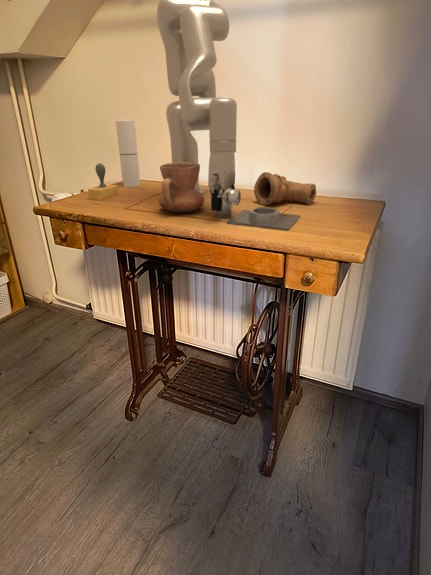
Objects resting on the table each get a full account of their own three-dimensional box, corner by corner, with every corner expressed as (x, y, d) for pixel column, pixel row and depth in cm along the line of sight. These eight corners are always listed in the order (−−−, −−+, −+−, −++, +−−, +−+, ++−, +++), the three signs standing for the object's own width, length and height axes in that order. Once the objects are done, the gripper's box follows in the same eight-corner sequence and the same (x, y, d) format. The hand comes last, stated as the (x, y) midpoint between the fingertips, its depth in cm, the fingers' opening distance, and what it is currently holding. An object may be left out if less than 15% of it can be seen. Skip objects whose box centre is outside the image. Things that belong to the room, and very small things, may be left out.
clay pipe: (264, 207, 142) (245, 202, 129) (268, 177, 140) (250, 169, 128) (314, 212, 133) (300, 208, 120) (319, 180, 131) (305, 172, 118)
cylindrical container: (120, 186, 160) (112, 120, 149) (126, 183, 166) (119, 119, 156) (136, 187, 159) (130, 120, 148) (142, 183, 165) (136, 119, 154)
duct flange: (226, 223, 111) (226, 213, 110) (243, 211, 123) (243, 202, 121) (288, 230, 105) (289, 220, 103) (300, 217, 116) (300, 208, 115)
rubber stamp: (101, 200, 138) (96, 165, 133) (88, 199, 141) (83, 164, 136) (119, 195, 147) (115, 161, 141) (106, 193, 149) (102, 161, 144)
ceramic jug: (178, 202, 135) (176, 159, 129) (214, 206, 129) (214, 162, 122) (145, 214, 121) (141, 167, 115) (184, 220, 114) (182, 170, 108)
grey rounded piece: (212, 217, 117) (212, 188, 114) (218, 213, 121) (218, 185, 118) (234, 219, 115) (235, 190, 111) (240, 215, 119) (241, 187, 115)
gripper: (222, 143, 118) (222, 199, 126) (197, 149, 104) (199, 212, 111) (245, 144, 115) (244, 201, 123) (223, 150, 101) (223, 215, 109)
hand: (223, 206), depth 117 cm, fingers open, 9 cm apart
